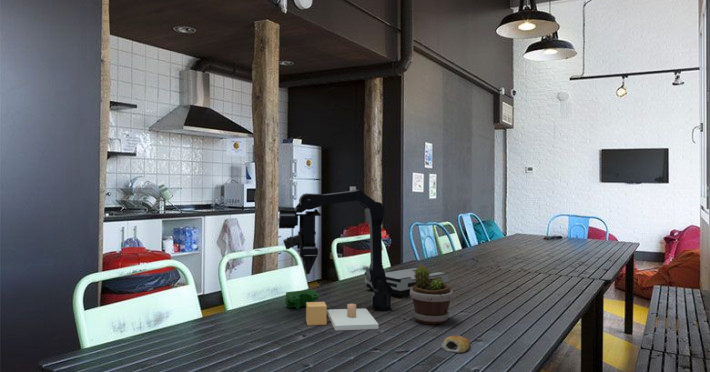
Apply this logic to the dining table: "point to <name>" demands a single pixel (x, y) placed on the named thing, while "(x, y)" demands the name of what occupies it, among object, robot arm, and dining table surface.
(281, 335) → the dining table surface
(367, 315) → the plate
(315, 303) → the cardboard box
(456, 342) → the pastry
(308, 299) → the clamp
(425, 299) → the flowerpot
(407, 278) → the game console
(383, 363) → the dining table surface
